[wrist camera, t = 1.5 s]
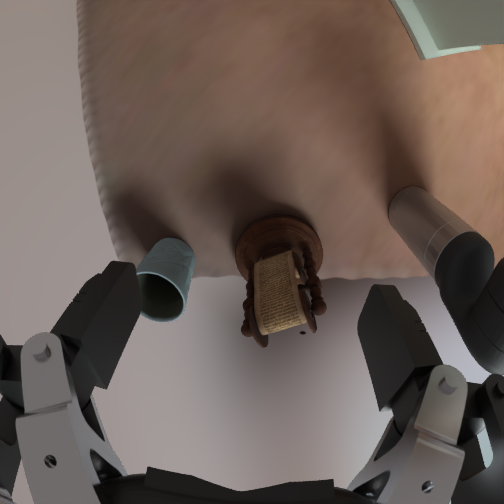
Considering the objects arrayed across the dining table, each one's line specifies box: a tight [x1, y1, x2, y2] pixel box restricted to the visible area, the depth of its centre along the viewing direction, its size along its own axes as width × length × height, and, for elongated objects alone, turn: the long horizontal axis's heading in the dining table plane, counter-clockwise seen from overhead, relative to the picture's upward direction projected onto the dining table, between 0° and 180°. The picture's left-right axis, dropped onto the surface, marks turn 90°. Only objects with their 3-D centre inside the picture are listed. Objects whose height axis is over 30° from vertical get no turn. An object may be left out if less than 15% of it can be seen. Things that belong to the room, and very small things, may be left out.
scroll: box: [235, 215, 327, 348], centre depth 41 cm, size 15×15×20 cm
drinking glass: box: [136, 238, 195, 322], centre depth 46 cm, size 10×10×12 cm
